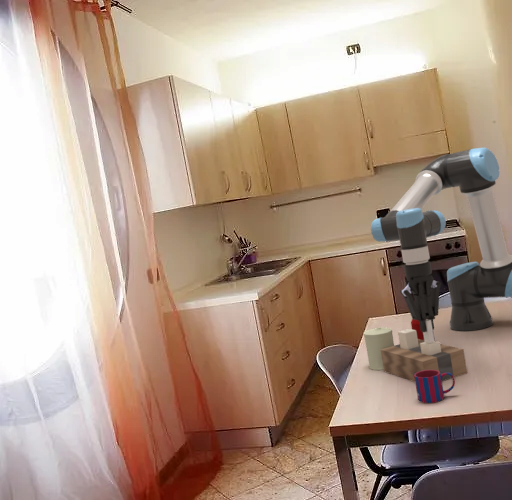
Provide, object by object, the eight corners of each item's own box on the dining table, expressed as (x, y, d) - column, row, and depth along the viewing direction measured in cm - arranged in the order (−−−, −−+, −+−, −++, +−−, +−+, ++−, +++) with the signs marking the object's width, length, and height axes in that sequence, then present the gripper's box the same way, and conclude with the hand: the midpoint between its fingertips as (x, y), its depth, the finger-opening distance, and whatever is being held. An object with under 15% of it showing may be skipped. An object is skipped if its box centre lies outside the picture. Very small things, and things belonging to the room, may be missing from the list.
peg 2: (435, 362, 183) (431, 339, 183) (443, 365, 180) (439, 341, 179) (423, 366, 182) (420, 343, 182) (432, 368, 178) (428, 345, 178)
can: (399, 360, 203) (393, 324, 202) (396, 368, 195) (389, 331, 194) (371, 362, 206) (365, 327, 206) (367, 371, 198) (360, 334, 197)
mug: (418, 395, 167) (413, 371, 167) (456, 392, 165) (452, 367, 164) (418, 404, 161) (413, 378, 160) (458, 400, 158) (454, 374, 158)
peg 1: (412, 350, 194) (408, 328, 193) (419, 352, 190) (416, 330, 189) (401, 353, 192) (397, 331, 192) (408, 355, 188) (405, 333, 188)
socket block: (384, 371, 194) (380, 349, 194) (421, 360, 199) (417, 338, 198) (426, 385, 173) (422, 361, 173) (467, 372, 178) (463, 349, 178)
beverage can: (437, 352, 204) (431, 317, 203) (416, 355, 205) (410, 320, 204) (435, 347, 210) (429, 313, 210) (415, 349, 212) (409, 315, 211)
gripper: (427, 257, 184) (439, 335, 186) (390, 266, 180) (403, 345, 182) (443, 258, 177) (456, 338, 179) (405, 266, 173) (418, 349, 174)
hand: (429, 341), depth 180 cm, fingers closed
